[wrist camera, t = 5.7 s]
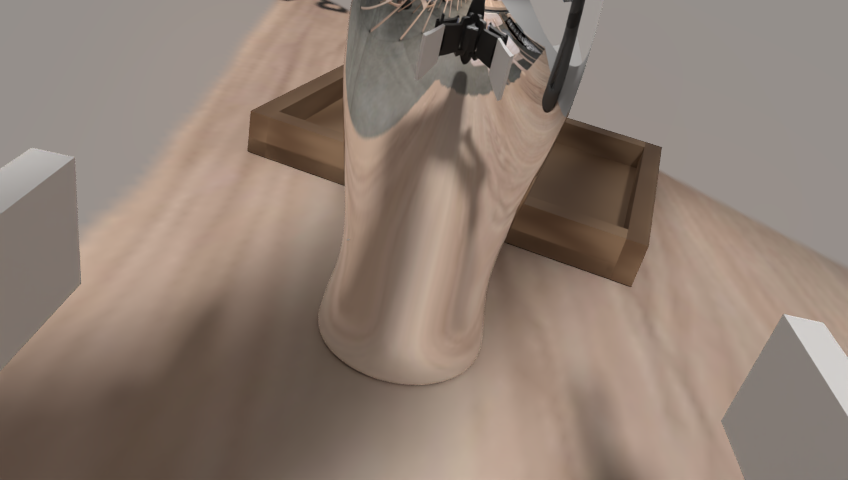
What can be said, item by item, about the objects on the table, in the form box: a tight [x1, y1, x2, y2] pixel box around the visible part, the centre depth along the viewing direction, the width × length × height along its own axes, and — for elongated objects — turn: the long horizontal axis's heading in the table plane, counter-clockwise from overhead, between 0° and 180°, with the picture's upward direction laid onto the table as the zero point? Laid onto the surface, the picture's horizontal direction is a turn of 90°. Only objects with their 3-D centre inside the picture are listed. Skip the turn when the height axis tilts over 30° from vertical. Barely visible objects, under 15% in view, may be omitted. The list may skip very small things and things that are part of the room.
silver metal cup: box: [318, 0, 604, 385], centre depth 22 cm, size 7×7×15 cm
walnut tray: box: [248, 65, 662, 286], centre depth 39 cm, size 20×14×2 cm
